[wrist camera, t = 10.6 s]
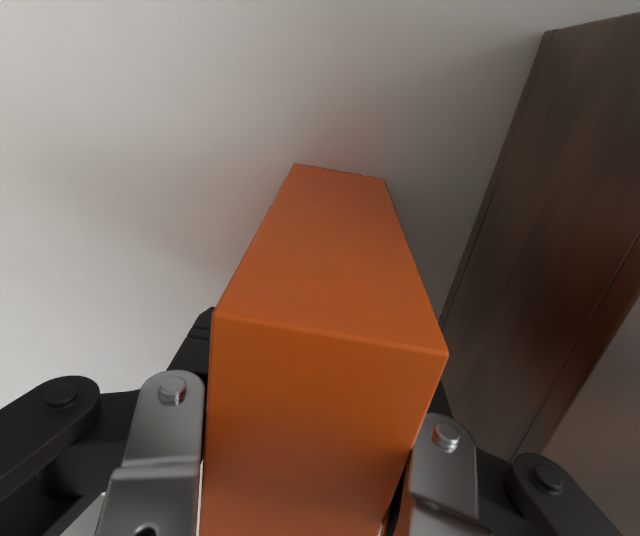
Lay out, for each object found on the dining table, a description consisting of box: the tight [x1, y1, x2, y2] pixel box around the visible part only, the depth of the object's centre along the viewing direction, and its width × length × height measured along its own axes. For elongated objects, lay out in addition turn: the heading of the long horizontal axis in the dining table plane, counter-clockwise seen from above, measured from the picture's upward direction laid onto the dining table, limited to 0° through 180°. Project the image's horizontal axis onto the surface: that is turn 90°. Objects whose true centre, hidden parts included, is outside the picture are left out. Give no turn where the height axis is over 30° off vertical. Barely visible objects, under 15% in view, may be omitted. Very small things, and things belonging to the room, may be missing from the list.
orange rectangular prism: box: [199, 163, 449, 536], centre depth 13 cm, size 7×4×12 cm, turn 170°
